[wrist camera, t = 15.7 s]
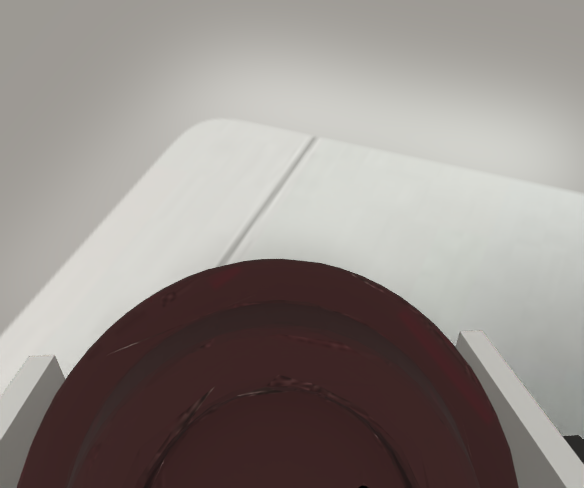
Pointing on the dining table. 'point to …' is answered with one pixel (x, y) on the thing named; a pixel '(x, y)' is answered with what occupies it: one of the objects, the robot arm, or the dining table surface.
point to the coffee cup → (271, 392)
